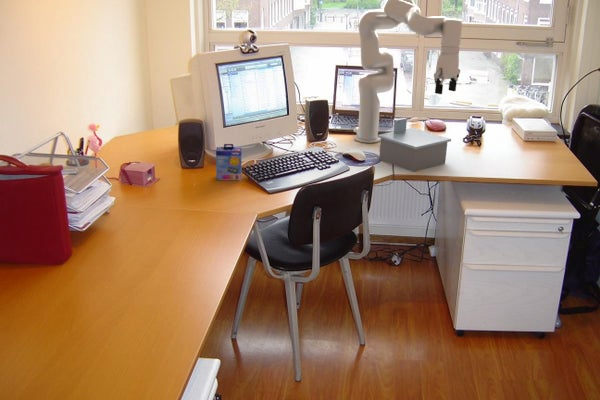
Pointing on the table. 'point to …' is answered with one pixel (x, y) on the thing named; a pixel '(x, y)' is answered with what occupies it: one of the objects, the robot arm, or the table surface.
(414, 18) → the robot arm
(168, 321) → the table surface
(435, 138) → the lid
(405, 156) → the tub
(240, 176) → the ink cartridge box
